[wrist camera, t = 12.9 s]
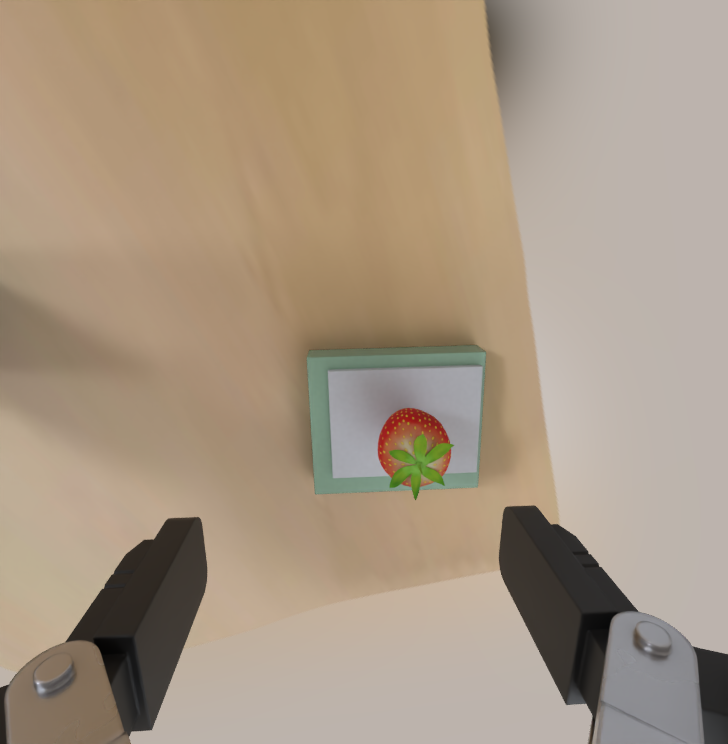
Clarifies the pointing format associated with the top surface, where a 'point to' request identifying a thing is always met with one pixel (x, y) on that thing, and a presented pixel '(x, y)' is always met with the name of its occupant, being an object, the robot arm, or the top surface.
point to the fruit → (414, 449)
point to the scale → (391, 410)
